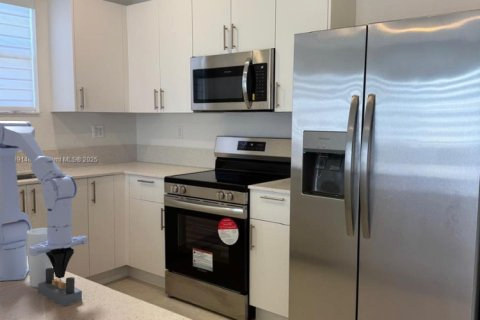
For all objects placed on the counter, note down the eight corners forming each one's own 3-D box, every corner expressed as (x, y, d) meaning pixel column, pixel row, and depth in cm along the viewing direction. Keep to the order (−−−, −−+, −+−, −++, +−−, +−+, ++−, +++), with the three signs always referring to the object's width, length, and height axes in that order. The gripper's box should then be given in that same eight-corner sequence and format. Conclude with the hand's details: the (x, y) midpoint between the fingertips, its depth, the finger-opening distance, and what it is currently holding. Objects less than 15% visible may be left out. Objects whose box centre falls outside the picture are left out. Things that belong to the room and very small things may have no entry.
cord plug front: (64, 292, 105) (64, 278, 104) (71, 289, 106) (71, 276, 106) (68, 294, 103) (68, 280, 103) (75, 292, 105) (76, 278, 105)
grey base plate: (38, 292, 110) (38, 283, 109) (56, 287, 114) (56, 278, 113) (63, 306, 102) (63, 296, 102) (81, 300, 106) (81, 290, 106)
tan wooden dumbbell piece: (51, 284, 108) (51, 279, 108) (58, 282, 110) (58, 277, 110) (61, 288, 106) (61, 284, 105) (67, 286, 107) (67, 282, 107)
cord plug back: (44, 282, 110) (44, 269, 110) (51, 280, 112) (51, 267, 112) (48, 284, 109) (48, 271, 109) (55, 282, 111) (55, 269, 110)
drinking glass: (43, 290, 111) (43, 235, 110) (21, 287, 112) (20, 232, 111) (59, 281, 118) (59, 228, 116) (38, 278, 119) (37, 226, 117)
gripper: (39, 233, 98) (39, 289, 99) (94, 222, 109) (93, 273, 111) (24, 227, 102) (25, 281, 103) (79, 217, 114) (78, 266, 115)
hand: (59, 276), depth 107 cm, fingers closed
